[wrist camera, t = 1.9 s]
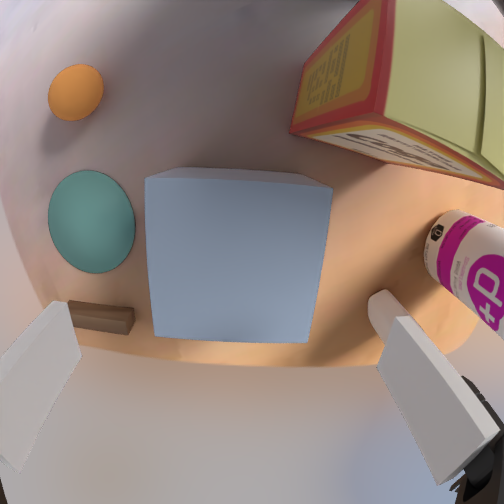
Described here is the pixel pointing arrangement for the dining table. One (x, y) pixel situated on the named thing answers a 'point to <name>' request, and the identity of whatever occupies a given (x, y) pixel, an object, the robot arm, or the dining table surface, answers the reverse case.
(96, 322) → the block
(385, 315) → the eye dropper bottle
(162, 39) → the dining table surface
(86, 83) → the ball
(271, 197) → the light blue block
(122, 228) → the disc
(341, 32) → the baking soda box
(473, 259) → the supplement can
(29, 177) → the dining table surface
